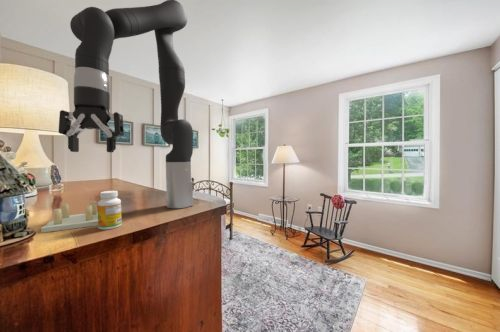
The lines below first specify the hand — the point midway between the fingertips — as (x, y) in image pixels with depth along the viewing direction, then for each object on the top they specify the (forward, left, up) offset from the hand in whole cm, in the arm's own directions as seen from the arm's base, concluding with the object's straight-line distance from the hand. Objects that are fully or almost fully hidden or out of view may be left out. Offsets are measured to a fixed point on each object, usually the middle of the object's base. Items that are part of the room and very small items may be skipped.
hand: (92, 152), depth 55 cm
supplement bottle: (-3, -1, -21) cm, 21 cm away
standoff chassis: (+6, -10, -21) cm, 23 cm away
